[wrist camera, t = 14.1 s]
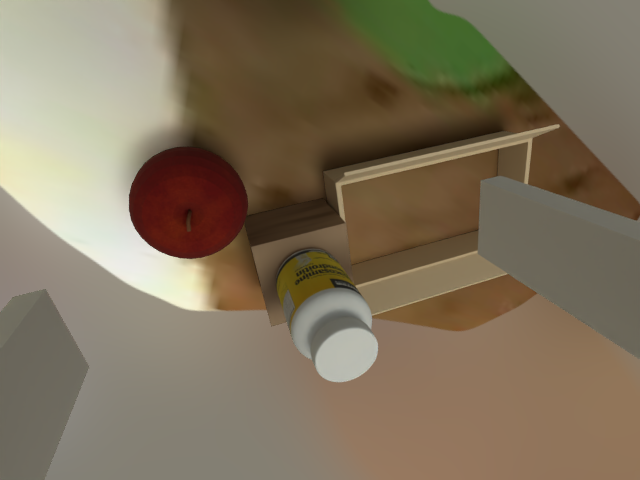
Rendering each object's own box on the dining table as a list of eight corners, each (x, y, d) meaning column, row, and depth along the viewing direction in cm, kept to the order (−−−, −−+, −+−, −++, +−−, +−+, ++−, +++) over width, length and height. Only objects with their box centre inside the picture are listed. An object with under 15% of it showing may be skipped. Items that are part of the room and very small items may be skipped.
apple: (127, 144, 34) (101, 168, 26) (231, 130, 36) (240, 147, 28) (156, 237, 39) (142, 284, 30) (248, 219, 41) (261, 259, 32)
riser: (243, 217, 40) (251, 247, 33) (322, 198, 42) (345, 222, 35) (260, 286, 44) (271, 326, 37) (332, 266, 46) (355, 301, 39)
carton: (320, 156, 40) (344, 173, 33) (504, 116, 44) (560, 124, 37) (339, 283, 47) (362, 319, 40) (496, 238, 51) (541, 264, 44)
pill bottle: (350, 257, 36) (407, 328, 26) (321, 311, 38) (365, 398, 28) (290, 236, 34) (328, 306, 24) (263, 296, 35) (287, 385, 25)
